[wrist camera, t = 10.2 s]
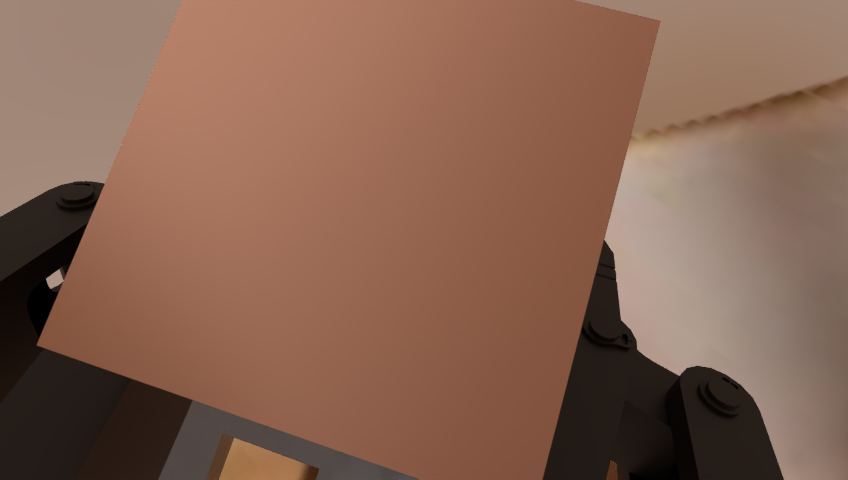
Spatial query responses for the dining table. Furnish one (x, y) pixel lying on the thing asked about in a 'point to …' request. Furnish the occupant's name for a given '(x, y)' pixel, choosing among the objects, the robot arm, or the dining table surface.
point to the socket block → (215, 430)
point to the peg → (365, 221)
